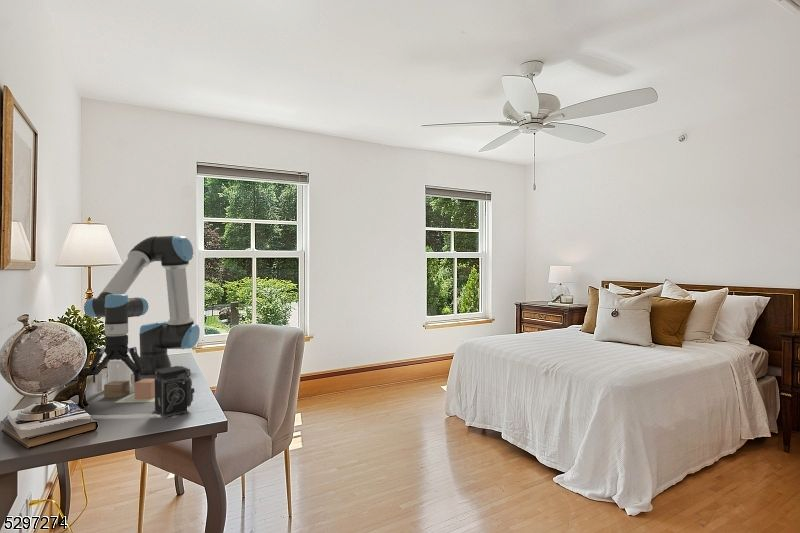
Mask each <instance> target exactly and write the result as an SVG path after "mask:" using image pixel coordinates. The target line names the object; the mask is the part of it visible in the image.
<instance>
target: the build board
mask: <svg viewBox="0 0 800 533" xmlns="http://www.w3.org/2000/svg"><path fill="white" fill-rule="evenodd" d="M114 403H116V404H117V403H118V404H119V403H120V404H121V403H125V404H126V403H155V397H154V398H152V399H135V392H132V393H131V394H129V395H127V396H125V397H123V398H121V399H119V400H116V401H114Z"/></svg>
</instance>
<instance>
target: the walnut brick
mask: <svg viewBox="0 0 800 533" xmlns="http://www.w3.org/2000/svg"><path fill="white" fill-rule="evenodd" d="M130 386H131V384H130V381H112V382H110V383H108V382H107V383H105V384H104V385H103V395H104V396H103V398H122V397H124V396H126V395H128V394H130V393H131V388H130Z"/></svg>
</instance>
